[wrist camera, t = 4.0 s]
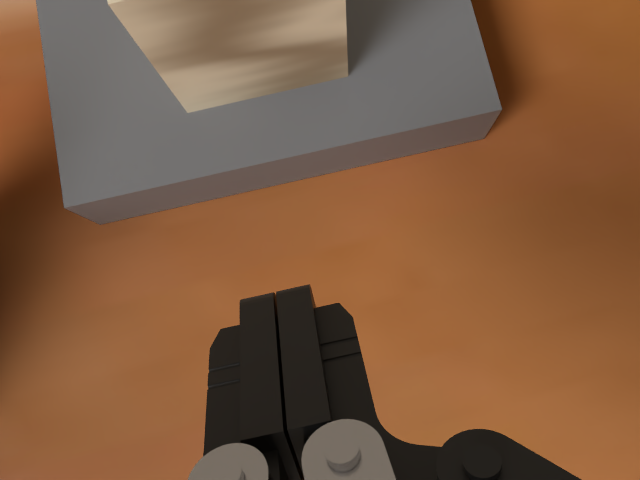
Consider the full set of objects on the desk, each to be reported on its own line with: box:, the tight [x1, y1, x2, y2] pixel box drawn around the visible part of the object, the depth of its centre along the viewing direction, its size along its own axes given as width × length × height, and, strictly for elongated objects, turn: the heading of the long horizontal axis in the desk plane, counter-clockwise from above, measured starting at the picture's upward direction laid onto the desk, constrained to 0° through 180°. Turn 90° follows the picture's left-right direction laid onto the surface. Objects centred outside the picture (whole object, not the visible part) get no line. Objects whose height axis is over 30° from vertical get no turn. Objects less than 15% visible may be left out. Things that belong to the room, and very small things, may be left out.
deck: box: [36, 0, 502, 225], centre depth 24 cm, size 16×12×3 cm
